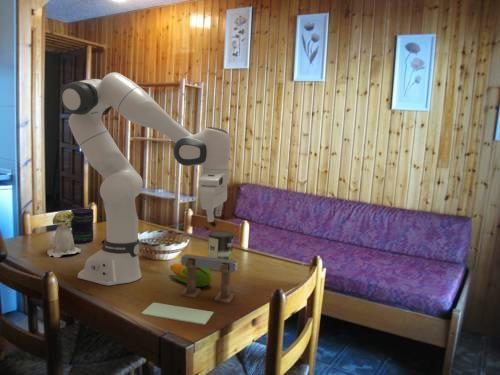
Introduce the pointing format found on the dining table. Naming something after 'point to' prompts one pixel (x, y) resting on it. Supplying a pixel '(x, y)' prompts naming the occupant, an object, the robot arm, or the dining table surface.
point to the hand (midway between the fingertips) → (214, 218)
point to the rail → (209, 262)
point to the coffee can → (220, 244)
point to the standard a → (190, 281)
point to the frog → (63, 235)
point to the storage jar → (82, 225)
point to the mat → (178, 313)
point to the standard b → (224, 285)
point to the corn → (201, 274)
